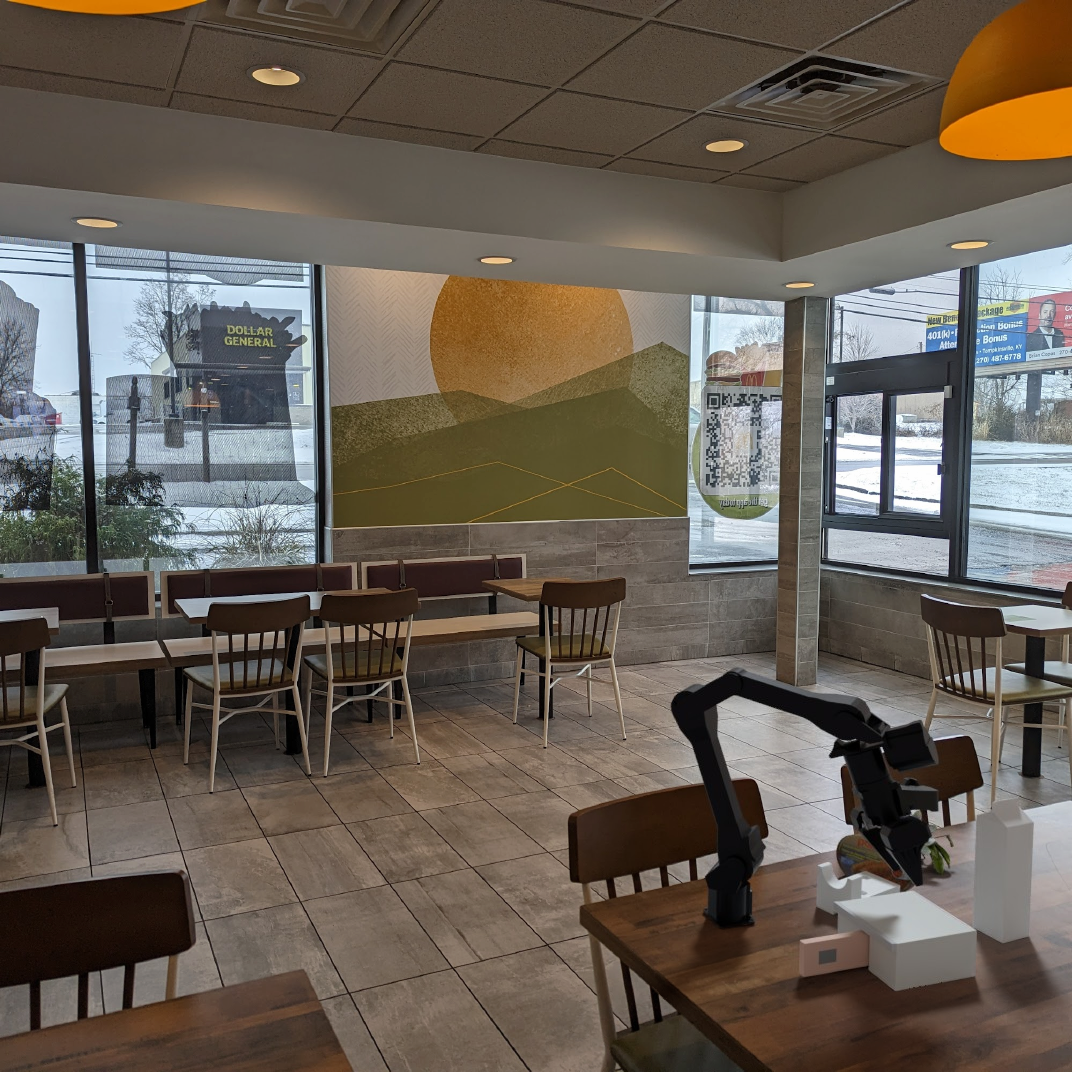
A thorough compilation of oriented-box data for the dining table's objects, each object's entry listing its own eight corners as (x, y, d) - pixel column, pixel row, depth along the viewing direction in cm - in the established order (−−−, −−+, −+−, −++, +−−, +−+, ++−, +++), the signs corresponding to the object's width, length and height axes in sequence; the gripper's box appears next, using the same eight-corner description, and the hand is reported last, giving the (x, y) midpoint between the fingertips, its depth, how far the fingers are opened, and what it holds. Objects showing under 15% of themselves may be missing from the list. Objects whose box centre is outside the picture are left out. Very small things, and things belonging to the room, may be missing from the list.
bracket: (850, 924, 158) (851, 880, 158) (816, 908, 164) (817, 865, 163) (899, 905, 165) (900, 862, 165) (865, 890, 171) (866, 848, 171)
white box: (890, 992, 137) (892, 944, 137) (832, 945, 150) (833, 901, 150) (975, 976, 141) (976, 929, 141) (911, 932, 155) (913, 889, 154)
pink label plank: (803, 977, 140) (804, 944, 140) (798, 972, 141) (799, 940, 141) (928, 955, 147) (929, 923, 146) (923, 951, 148) (924, 919, 147)
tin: (834, 873, 177) (835, 829, 177) (843, 869, 179) (845, 825, 179) (911, 901, 166) (912, 854, 165) (920, 896, 168) (921, 850, 167)
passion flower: (898, 894, 181) (861, 836, 184) (926, 869, 188) (891, 813, 191) (943, 879, 173) (904, 819, 176) (971, 853, 179) (933, 795, 183)
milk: (1029, 937, 154) (1036, 803, 152) (1002, 944, 151) (1009, 808, 150) (997, 920, 159) (1003, 791, 158) (970, 927, 157) (977, 795, 155)
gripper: (945, 769, 138) (985, 875, 136) (898, 754, 157) (933, 847, 155) (872, 794, 138) (911, 901, 136) (834, 776, 156) (868, 869, 155)
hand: (907, 877), depth 145 cm, fingers open, 9 cm apart
